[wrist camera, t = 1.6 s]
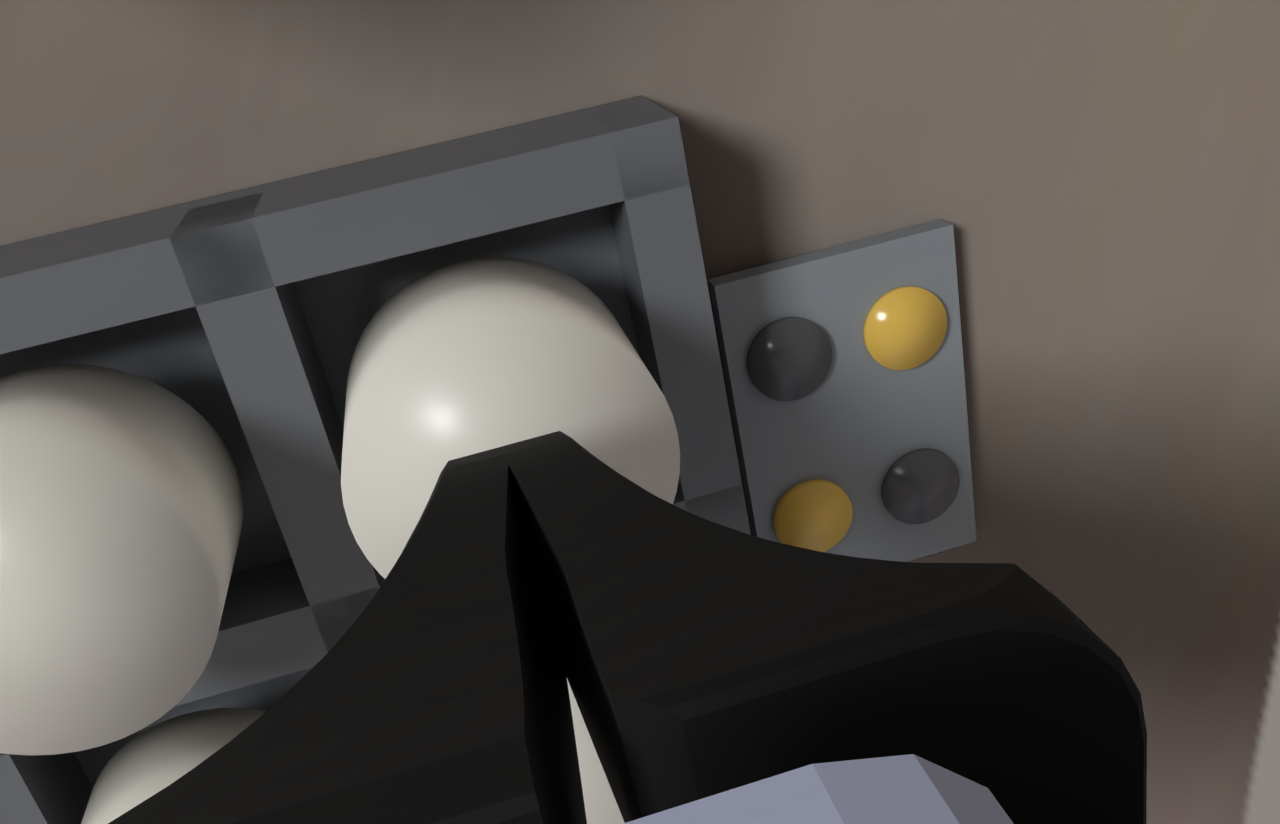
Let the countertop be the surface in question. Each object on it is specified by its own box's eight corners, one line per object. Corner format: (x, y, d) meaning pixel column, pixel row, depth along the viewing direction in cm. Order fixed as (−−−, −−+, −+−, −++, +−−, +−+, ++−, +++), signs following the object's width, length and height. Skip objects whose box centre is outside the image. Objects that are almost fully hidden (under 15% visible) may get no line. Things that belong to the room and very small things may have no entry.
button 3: (658, 482, 17) (705, 571, 14) (393, 556, 16) (396, 660, 14) (604, 224, 15) (647, 278, 13) (307, 298, 14) (293, 367, 12)
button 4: (283, 587, 16) (267, 698, 14) (-5, 666, 15) (-73, 796, 13) (182, 329, 14) (144, 405, 12) (-144, 410, 14) (-251, 505, 11)
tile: (966, 531, 21) (980, 545, 20) (761, 590, 20) (771, 607, 20) (941, 219, 18) (957, 226, 18) (707, 279, 18) (716, 289, 17)
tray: (759, 727, 21) (798, 807, 19) (124, 922, 20) (96, 1030, 18) (641, 95, 16) (678, 117, 14) (-218, 297, 15) (-308, 351, 13)
